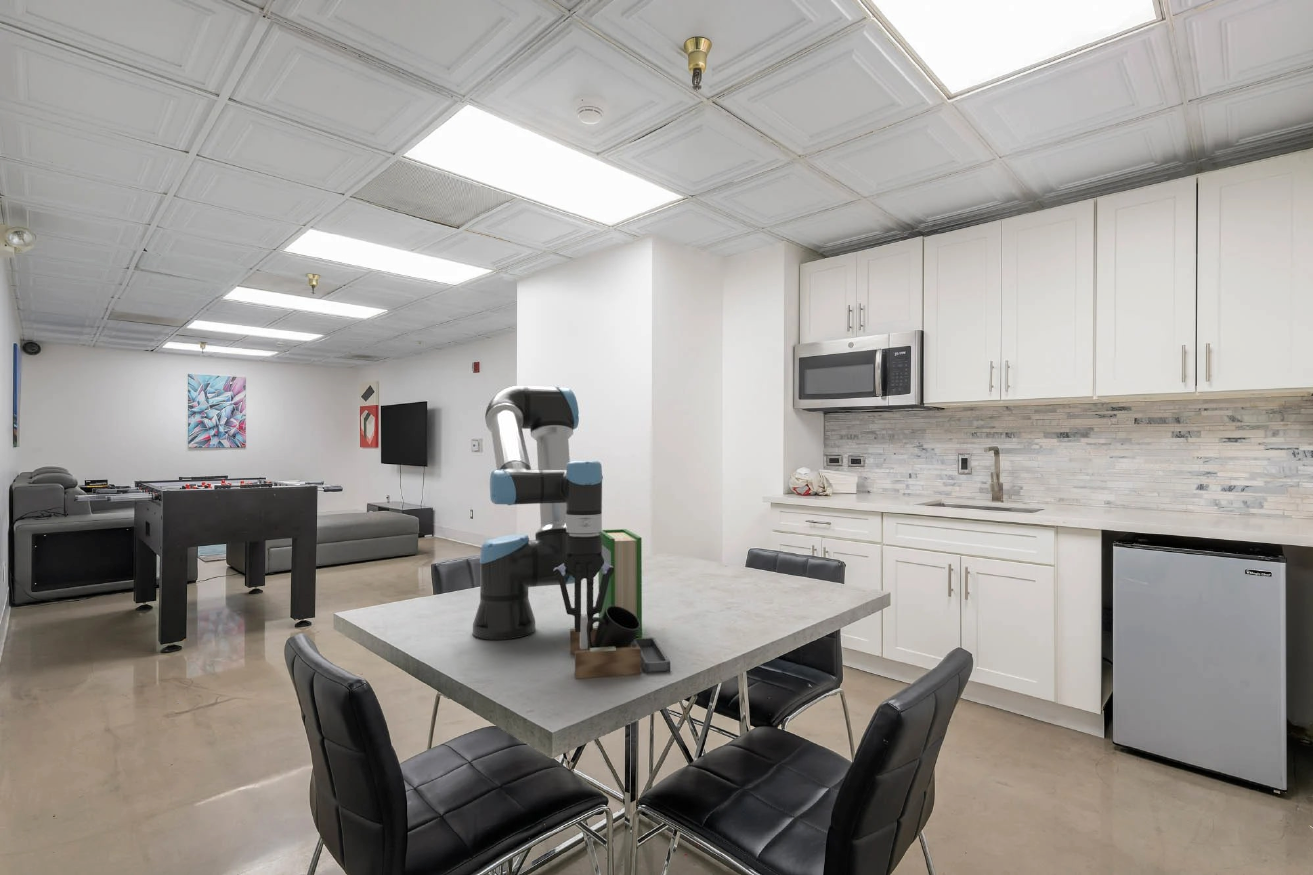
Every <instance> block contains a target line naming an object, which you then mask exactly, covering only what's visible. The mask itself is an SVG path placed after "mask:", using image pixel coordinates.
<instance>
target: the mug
mask: <svg viewBox="0 0 1313 875" xmlns="http://www.w3.org/2000/svg"><path fill="white" fill-rule="evenodd" d="M595 623H598V625H597V626H598V627H597V630H596V634H595V639H594V645H592V643H591V627H592V625H593V626H594V624H595ZM640 627H641V624H640V621H639V619H638V618H637V617H636V616H635V615H634V614H633V613H631V612H630V611H628V610H626V609H624V608H622V607H619V606H609V607H607V608H606V609H605V611H604V613H603V615H602V617H601V618H599V616H598V617H597V616H593V617H592V618H590V619H589V621H588V623H587V640H588V647H589V650H590V648H599V647H614V646H615V648H623V647H631V645H632V642H633V640H634V639H636V635H637V633H638V631H639V629H640Z"/></svg>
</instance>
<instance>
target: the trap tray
mask: <svg viewBox="0 0 1313 875" xmlns="http://www.w3.org/2000/svg"><path fill="white" fill-rule="evenodd" d="M631 645H632V646H631V647H638V646H640V648H641V668H642V669H643V671H644V673H645V674H646V673H647V674H657V673H658V674H660V673H668V672H667V671H670V672H671V661H670V660H669V658H668V656H667V655H666V653H665V652H664V650H663V649H662V647H661V646H660V644H659V643H658V641H657V640H656V638H655V637H642V638H635V639H634V640H633V642H632V643H631ZM659 672H660V673H659Z"/></svg>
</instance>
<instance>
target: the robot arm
mask: <svg viewBox="0 0 1313 875" xmlns="http://www.w3.org/2000/svg"><path fill="white" fill-rule="evenodd" d="M579 414H580V412H579V405H578V400H577V397H576V395H575V393H574V391H573V390H572V389H571V388H567V387H559V386H528V385H527V386H524V385H516V386H511V387H508V388H505V389H503V390H502V391H500V392H498V393H497V394H496V395H495V396H494V397H492V399H491V400H490V401H489V403H488V405H487V407H486V410H485V415H484V416H485V418H484V419H485V424H486V427H487V429H488V431H489V432H490V433H491V438H492V445H493V451H494V459H495V466H496V467H495V468H496V470H493V471H492V472H491V473H490V478H489V495H490V496H489V498H490V501H491V503H493V504H494V505H507V506H513V505H515V506H517V505H531V504H532V505H533V504H534V505H535V504H539V510H540V511H539V514H540V528H539V529H538V530H537V531H536V532H535V539H530V538H529V535H527V534H525V533H522V534H510V535H509V534H508V535H503V536H499V537H494V538H492V539H488V540H485V542H484V543H483V544H482V545H481V548H480V558H479V564H480V581H479V584H480V588H479V591H480V595H479V598H480V600H479V603H478V608H477V610H476V613H475V617H474V620H473V622H472V635H473V636H474V637H476V638H479V639H482V640H483V639H484V640H492V641H494V640H496V641H498V640H510V639H511V640H512V639H518V638H522V637H525V636H528V635H530V634H533V633H534V632H535V631H536V619H535V615H534V611H533V609H532V607H531V603H530V599H529V588H533V587H546V586H547V587H549V586H559V588H560V591H561V596H562V600H563V603H564V604H563V605H564V606H565V607H564V608H565V611H566V614H567V615H568V616H569V615H571V616H572V617H574V629H575V631H576V632H580V649H588V640H587V623H588V621H589V619H590V618H592V617H595V615H598V614H599V613H601V611H602V608H603V603H604V599H605V595H606V591H607V587H608V583H609V579H610V577H611V575H612V574H613V572H614V568H613V566H611V565H608V564H606V563H605V562H604V558H603V557H602V536H601V535H600V534H599V533H600V532H601V531H602V530H603V520H602V519H603V479H604V476H603V468H602V464H601V462H600V461H598V460H597V461H596V460H571V461H570V445H569V439H570V438H571V437H572V436H573V435H574V430H576V429H577V428H578V426H579V422H580V419H579V418H580V417H579ZM523 429H524V430H527V429H529V431H530V436H531V438H532V439H534V440H535V441H536V452H537V454H536V455H537V469H532V467H531V463H530V458H529V454H528V449H527V445H526V440H525V437H524V433H523ZM601 567H603V569H602V572H603V576H602V580H601V584H600V589H599V588H598V592H597V593H598V594H597V598H596V602H595V605H594V584H595V582H594V581H595V580H594V578H595V577H596V576H597V575H598V572H599V570H600V569H601ZM584 579H586V580H585V581H586V614H585V613H582V581H583V580H584ZM571 584H574V601H573V602H574V603H573V605H574V607H572V604H571V601H570V600H571V599H570V596H569V592H568V589H567V588H568V587H567V585H571ZM593 626H594V624H593V625H592V627H591V631H592V630H593Z"/></svg>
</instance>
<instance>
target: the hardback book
mask: <svg viewBox="0 0 1313 875" xmlns="http://www.w3.org/2000/svg"><path fill="white" fill-rule="evenodd" d="M599 534H600V535H601V536H602V557H603V558H604V562H605V563H606V564H608V565H611V566H613V568H614V572H613V574H612V575H611V577H610V579H609V583H608V587H607V591H606V595H605V599H604V603H603V608H602V611H601V613H598V618H601V617H602V615H603V613H604V611H605V609H606V608H607V607H609V606H619V607H622V608H624V609H626V610H628V611H630V612H631V613H633V614H634V615H635V616H636V617H637V618H638V619H639V621H640V624H641V627H640V629H639V631H638V633H637V635H636V637H637V638H643V606H642V605H643V604H642V603H643V601H642V600H643V599H642V598H643V596H642V595H643V594H642V592H643V590H642V589H643V588H642V587H643V585H642V583H643V580H642V576H643V573H642V571H643V569H642V568H643V567H642V566H643V564H642V563H643V562H642V559H643V558H642V553H643V552H642V551H643V550H642V548H643V547H642V546H643V544H642V537H641V536H639V535H638V534H636V533H633V531H630V530H629V529H626V528H622V529H619V528H618V529H602V531H601V532H600V533H599ZM602 569H603V567H601V569H600V570H599V572H598V573H597V575H598V590H599V589H600V584H601V580H602V576H603V572H602ZM636 637H635V638H636ZM637 638H636V639H637Z"/></svg>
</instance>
